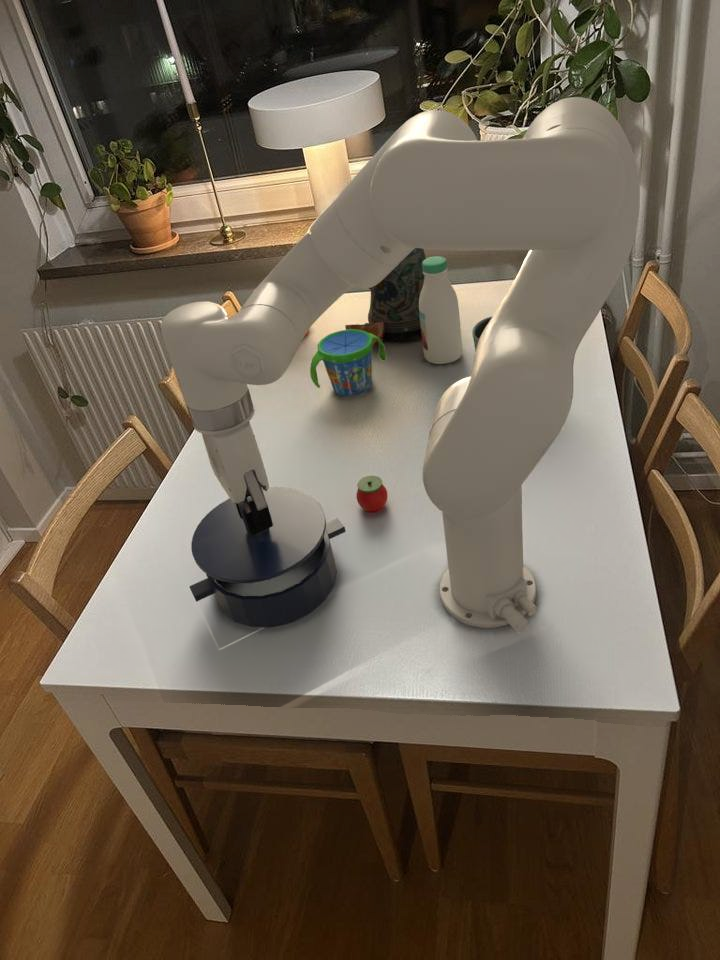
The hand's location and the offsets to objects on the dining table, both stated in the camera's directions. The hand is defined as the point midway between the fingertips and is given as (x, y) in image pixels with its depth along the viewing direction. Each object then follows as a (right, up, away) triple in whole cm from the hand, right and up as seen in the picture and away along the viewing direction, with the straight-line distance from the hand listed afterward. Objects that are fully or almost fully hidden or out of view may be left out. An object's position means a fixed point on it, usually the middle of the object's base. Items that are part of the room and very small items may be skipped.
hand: (256, 520), depth 98 cm
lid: (0, -2, +1) cm, 2 cm away
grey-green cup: (+40, +23, +38) cm, 60 cm away
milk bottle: (+31, +31, +50) cm, 66 cm away
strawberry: (+16, +1, +16) cm, 23 cm away
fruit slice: (+15, +37, +58) cm, 70 cm away
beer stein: (+23, +39, +64) cm, 78 cm away
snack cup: (+13, +23, +46) cm, 53 cm away
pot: (+2, -9, +7) cm, 12 cm away
